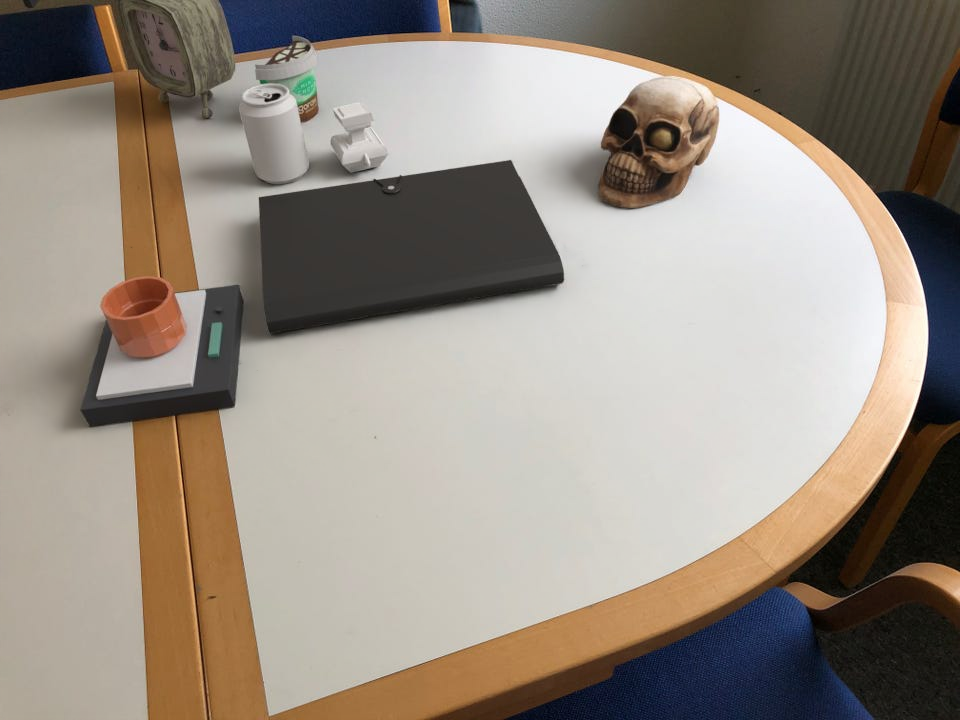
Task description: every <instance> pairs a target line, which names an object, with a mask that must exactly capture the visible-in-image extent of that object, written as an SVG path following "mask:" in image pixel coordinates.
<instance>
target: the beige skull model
mask: <svg viewBox="0 0 960 720" xmlns="http://www.w3.org/2000/svg"><path fill="white" fill-rule="evenodd" d="M611 115H612V116H611V117H610V119H609V122H608V125H607V127H606V128H605V130H604V132H603V134H602V135H603V136H602V138H601V141H600V148H601V149H602V150H603V151H608V152H609V156H608V158H607V161H606V163H605V165H604V166H603V169H602V172H601V175H600V178H599V181H598V184H597V191H598V194H599V198H600V200H601V201H602V202H603V203H605V204H608V205H611V206H613V207H618V208H629V209H637V208H643V207H647V206H650V205H653V204H656V203H657V202H663V201H666V200H668V199H669V198H674V197H675V198H676V197H677V196H679V195H680V194H681V193H683V191H684V189H685V188H686V186H687V184H688V181H689V179H690V177H691V174H692V172H693V169H694V168H695V167H696V166H697V167H698V166H701V165H703V164H704V162H705V161H706V159H707V158H708V156H709V154H710V152H711V150H712V147H713V146H714V144H715V141H716V138H717V133H718V128H719V123H720V107H719V103H718V101H717V98H716V97H715V95H714V93H713V92H712V91H711V90H710V89H709V88H708V87H707V86H706V85H704V84H702V83H699V82H697V81H694V80H692V79H689V78H685V77H682V76H676V75H668V76H659V77H655V78H651V79H649V80H646V81H643V82H641V83H639V84H637V85H636V86H634V88H633V89H632V90H630V92H629V94H628V96H627V97H626V99H625V100H624V101H623V102H622V103H621V104H620V105H619V106H618V107H617V109H615V111H614V112H613V113H612V114H611Z"/></svg>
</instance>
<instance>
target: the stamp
mask: <svg viewBox="0 0 960 720" xmlns="http://www.w3.org/2000/svg"><path fill="white" fill-rule="evenodd" d="M332 111H333V115H334V117H335V118H336V120H337V121H338V123H339V124H340V125H341V126H342V128H343V129H344V130H345V132H344V133H339V134H334V135H332V136H331V137H330V146H331V148H332V150H333V151H334V153H335V154H336V156H337V158H338V160H339V162H340V163H341V165H342V166H343V167H344V168H345V169H346V170H347V171H349V173H350V174H352V173H356V172H360V171H364V170H369V169H372V168H378V167H381V165H382V164H383V162H384V161H385V160H386V159H387V157H388V156H389V151H388V149H387V147H386V146H385V144H384V143H383V141H382V140H381V138H380V137H379V136H378V134H377V133H376V131H375V130H374V129H373V127H371V126H372V122H373V121H375V120H374V117H373V114H372V112H371V111H370V110H369V109H368V108H367V106H366V105H365V104H364V102H362V101H358V102H353V103H349V104H345V105H341V106H336V107H333V108H332Z"/></svg>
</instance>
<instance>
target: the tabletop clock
mask: <svg viewBox="0 0 960 720" xmlns="http://www.w3.org/2000/svg"><path fill="white" fill-rule="evenodd" d="M117 4H118V5H117V6H118V11H119V16H120V20H121V23H122V26H123V30H124V33H125V37H126V40H127V43H128V45H129V48H130V51H131V54H132V56H133V58H134V61H135V63H136V66H137V68H138V70H139V72H140V74H141V75H142V77H143V79H144V80H145V81H146V82H147V83H148V84H149V85H150V86H153V87H154V88H156V89H158V90H161V91H162V92H160V93H158V97H157V98H158V101H159V102H161V103H163V104H166V103H167V102H169V100H170V96H169V94H170V95H173V96H176V97H181V98H186V99H192V98H195V97H197V96H199V95H200V97H201V101H202V104H203V108H202V110H201V114H202V116H203V117H204V118H206V119H210V118H212V117H213V115H214V112H213V109H211V107H209V104H208V103H209V102H208V101H210V100H211V99H213V95H214V94H213V92H212V89H214V88H215V87H219V86H220V85H222V84H224V83H226V82H229V81H230V80H232V78H233V76H234V74H235V71H236V56H235V51H234V46H233V42H232V38H231V34H230V30H229V26H228V22H227V19H226V16H225V12H224V10H223V7H222V5H221V2H220V1H219V0H117Z"/></svg>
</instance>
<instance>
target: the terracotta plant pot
mask: <svg viewBox="0 0 960 720" xmlns="http://www.w3.org/2000/svg"><path fill="white" fill-rule="evenodd" d="M175 293H176V292H175V291H174V288H173V286H172V285H171V283H170V282H169V281H168V280H166V279H164V278H163V277H160V276H152V275H144V276H137V277H132V278H130V279H127V280H124V281H121V282H119V283H118V284H116V285H114V286H113V287H111V288H110V289H109V290H108V291H107V292H106V293H105V294H104V295H103V296H102V298H101V301H100V305H99V307H100V309H101V312H102V314H103V316H104V318H105V321H107V323H108V325H109V327H110V329H111V331H112V333H113V335H114V338H115V340H116V342H117V344H118V346H119V348H120V350H121V351H122V352H123V353H125V354H127V355H128V356H133V357H139V358H151V357H156V356H159V355H162V354H164V353H167V352H169V351H170V350H172V349H173V348H175V347H176V346H177V345H178V344H179V343H180V341H181V340H182V339H183V337H184V336H185V334H186V329H187V325H186V322H185V320H184V317H183V314H182V312H181V309H180V306H179V304H178V301H177V299H176V296H175Z"/></svg>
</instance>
